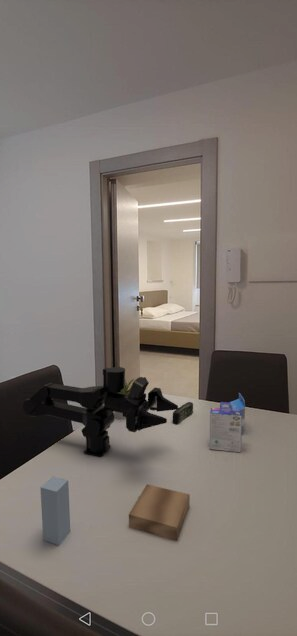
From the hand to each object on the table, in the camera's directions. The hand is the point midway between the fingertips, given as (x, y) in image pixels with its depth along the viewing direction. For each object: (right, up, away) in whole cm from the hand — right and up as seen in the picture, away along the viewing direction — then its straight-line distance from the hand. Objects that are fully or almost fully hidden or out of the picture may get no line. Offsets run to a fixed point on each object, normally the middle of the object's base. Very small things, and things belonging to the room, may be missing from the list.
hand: (172, 413), depth 90 cm
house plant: (-16, -12, +37) cm, 42 cm away
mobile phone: (+7, -13, +36) cm, 39 cm away
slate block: (-26, -20, -21) cm, 39 cm away
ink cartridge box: (+18, -15, +14) cm, 27 cm away
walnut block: (-4, -19, -16) cm, 25 cm away
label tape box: (+25, -13, +26) cm, 38 cm away
